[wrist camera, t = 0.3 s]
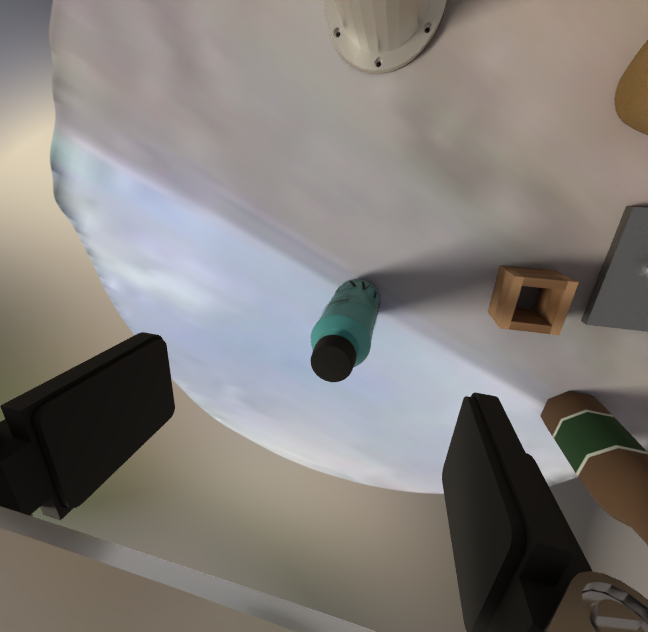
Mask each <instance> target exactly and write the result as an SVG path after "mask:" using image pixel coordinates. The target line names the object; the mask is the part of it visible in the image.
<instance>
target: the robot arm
mask: <svg viewBox="0 0 648 632" xmlns="http://www.w3.org/2000/svg"><path fill="white" fill-rule="evenodd" d="M446 1H447V0H325V16H326V21H327V26H328V30H329V33H330V36H331V39H332V41H333V43H334V45H335V47H336V49H337V51H338V52H339V53H340V55H341V56H342V57H343V59H344V60H346V61H347V62H348V63H349V64H350V65H351V66H353V67H355V68H356V69H358V70H360V71H363V72H367V73H372V74H382V73H387V72H392V71H394V70H397V69H399V68H401V67H403V66H405V65H406V64H408V63H409V62H411V61H412V60H413V59H414V58H415V57H416V56H418V55H419V54H420V53H421V52H422V51H423V49H424V48H425V47H426V46H427V44H428V43H429V42H430V40H431V39H432V37H433V35H434V33H435V32H436V30H437V28H438V26H439V23H440V21H441V18H442V15H443V13H444V9H445V5H446ZM426 29H429V33H425V30H426ZM337 34H341V35H340V36H339V37H337ZM377 63H381V66H380V67H377ZM1 409H2V412H3V414H4V417H5V420H3V421H1V422H0V632H376V631H373V630H370V629H367V628H364V627H362V626H359V625H356V624H353V623H351V622H348V621H345V620H342V619H339V618H336V617H333V616H330V615H327V614H324V613H321V612H318V611H315V610H312V609H309V608H306V607H303V606H300V605H298V604H295V603H292V602H289V601H286V600H283V599H280V598H276V597H274V596H271V595H268V594H265V593H262V592H259V591H256V590H253V589H250V588H247V587H244V586H241V585H238V584H235V583H232V582H229V581H226V580H223V579H220V578H217V577H214V576H211V575H208V574H205V573H202V572H199V571H196V570H193V569H190V568H187V567H184V566H181V565H178V564H175V563H172V562H169V561H166V560H163V559H160V558H157V557H154V556H151V555H148V554H145V553H142V552H139V551H136V550H133V549H130V548H127V547H124V546H121V545H118V544H115V543H112V542H109V541H106V540H102V539H100V538H97V537H94V536H91V535H87V534H84V533H81V532H78V531H75V530H72V529H69V528H66V527H63V526H60V525H56V524H53V523H50V522H47V521H44V520H41V519H38V518H35V517H33V512H34V511H35V510H37V508H39V507H41V510H42V512H43V515H46V516H49V517H52V518H55V519H58V520H61V519H62V518H63V517H65V516H66V515H67V514H68V513H69V512H70V511H71V510H72V509H73V508H76V507H78V506H80V505H81V504H82V503H83V502H84V501H85V500H86V499H87V498H88V497H89V496H91V495H92V494H93V493H94V492H95V491H96V490H97V489H98V488H99V487H100V486H101V485H102V484H103V483H104V482H105V481H106V480H107V479H108V478H109V477H110V476H111V475H112V474H113V473H114V472H115V471H116V470H117V469H118V468H119V467H120V466H122V465H123V464H124V463H125V462H126V461H127V460H128V459H129V458H130V457H131V456H132V455H133V454H134V453H135V452H136V451H137V450H138V449H139V448H140V447H141V446H142V445H143V444H144V443H145V442H146V441H147V440H148V439H149V438H150V437H152V435H153V434H155V433H156V432H157V431H158V430H159V429H160V428H161V427H162V426H163V425H164V424H165V423H166V422H167V421H168V420H169V419H170V418H171V417H172V415H173V413H174V410H175V404H174V398H173V389H172V382H171V374H170V367H169V360H168V352H167V345H166V343H165V341H163V339H162V337H161V336H159V335H155V334H150V333H143V332H141V333H139V334H137V335H135V336H133V337H131V338H129V339H127V340H125V341H123V342H121V343H119V344H118V345H116V346H114V347H112V348H110V349H108V350H106V351H104V352H102V353H100V354H99V355H97V356H95V357H93V358H91V359H89V360H87V361H85V362H83V363H81V364H80V365H77V366H75V367H73V368H72V369H70V370H68V371H66V372H64V373H62V374H60V375H58V376H56V377H54V378H52V379H51V380H49V381H47V382H45V383H43V384H41V385H39V386H37V387H35V388H33V389H32V390H30V391H28V392H26V393H24V394H22V395H20V396H18V397H16V398H14V399H12V400H10V401H8V402H7V403H5V404H3V405H1ZM442 482H443V489H444V495H445V502H446V508H447V515H448V521H449V528H450V534H451V541H452V547H453V554H454V560H455V567H456V573H457V580H458V586H459V592H460V599H461V606H462V612H463V619H464V624H465V628H466V631H467V632H648V600H647V599H646V598H645V597H644V596H643V595H641V594H640V593H639V592H637V591H636V590H634V589H633V588H631V587H630V586H628V585H626V584H625V583H623V582H622V581H620V580H618V579H615V578H613V577H611V576H608V575H606V574H603V573H598V572H593V571H592V569H591V567H590V565H589V563H588V562H587V560H586V558H585V556H584V554H583V552H582V550H581V548H580V546H579V544H578V542H577V541H576V538H575V537H574V535H573V533H572V531H571V529H570V527H569V525H568V523H567V521H566V519H565V517H564V515H563V513H562V511H561V510H560V508H559V506H558V504H557V502H556V500H555V498H554V496H553V494H552V492H551V490H550V488H549V486H548V484H547V483H546V481H545V479H544V477H543V475H542V473H541V471H540V469H539V467H538V465H537V463H536V461H535V460H534V459H533V457H532V456H531V455H529V454H527V453H525V451H524V449H523V447H522V445H521V443H520V441H519V439H518V437H517V435H516V433H515V431H514V429H513V427H512V425H511V423H510V421H509V419H508V417H507V415H506V413H505V411H504V409H503V407H502V404H501V402H500V400H499V399H498V397H496V396H491V395H485V394H480V393H473V394H472V395H471V397H467V396H466V397H464V399H463V402H462V406H461V409H460V412H459V416H458V419H457V423H456V426H455V429H454V433H453V436H452V440H451V443H450V446H449V450H448V453H447V457H446V460H445V463H444V467H443V472H442Z"/></svg>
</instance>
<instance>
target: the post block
mask: <svg viewBox="0 0 648 632" xmlns="http://www.w3.org/2000/svg"><path fill="white" fill-rule="evenodd" d="M581 321H582V322H583V323H585V324H586V325H594V326H603V327H612V328H621V329H630V330H639V331H648V208H646V207H626V208H625V211H624V213H623V216H622V219H621V221H620V224H619V226H618V229H617V231H616V234H615V236H614V239H613V241H612V244H611V246H610V249H609V252H608V254H607V257H606V259H605V262H604V264H603V267H602V269H601V272H600V274H599V277H598V279H597V282H596V285H595V287H594V290H593V292H592V295H591V297H590V300H589V302H588V305H587V307H586V310H585V312H584V315H583V318H582V320H581Z"/></svg>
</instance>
